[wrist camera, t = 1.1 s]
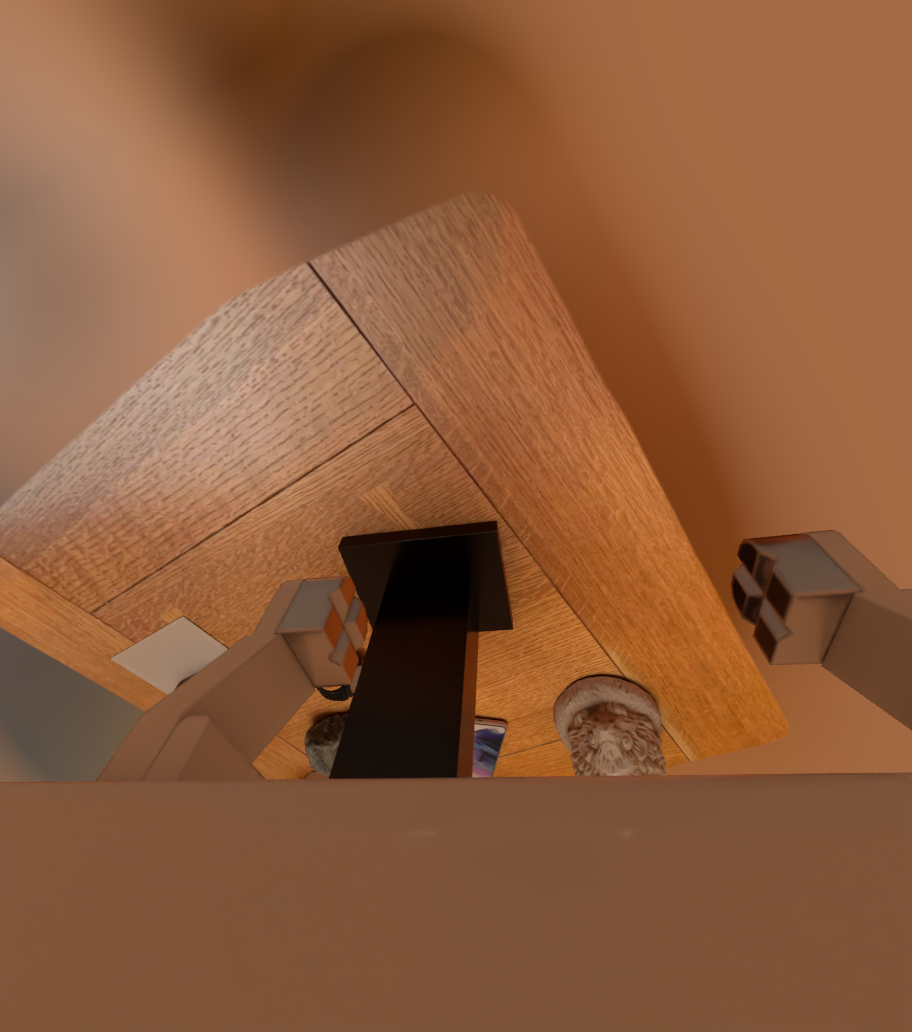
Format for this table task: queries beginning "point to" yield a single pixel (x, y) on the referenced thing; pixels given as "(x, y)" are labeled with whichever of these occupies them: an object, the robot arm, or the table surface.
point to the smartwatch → (343, 687)
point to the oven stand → (421, 648)
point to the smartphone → (487, 746)
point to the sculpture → (610, 728)
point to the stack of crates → (171, 655)
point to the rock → (324, 743)
